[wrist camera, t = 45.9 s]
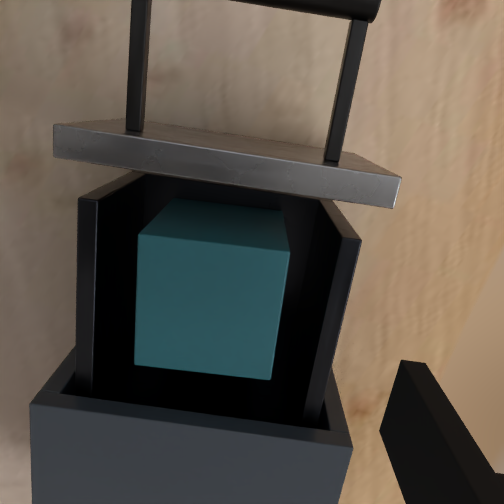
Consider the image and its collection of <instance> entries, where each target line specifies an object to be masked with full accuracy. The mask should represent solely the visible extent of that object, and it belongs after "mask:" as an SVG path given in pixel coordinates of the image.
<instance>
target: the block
mask: <svg viewBox="0 0 504 504" xmlns="http://www.w3.org/2000/svg"><path fill="white" fill-rule="evenodd" d="M289 258H290V249H289V244H288V239H287V233H286V228H285V222H284V217H283V212H282V211H279V210H271V209H262V208H254V207H246V206H237V205H229V204H221V203H212V202H204V201H196V200H187V199H179V198H173V199H172V200H171V201H170V202H169V203H168V204H167V205H166V206H165V207H164V208H163V209H162V210H161V212H160V213H159V214H158V215H157V216H156V217H155V218H154V219H153V220H152V221H151V222H150V223H149V224H148V225H147V226H146V227H145V228H144V229H143V230H142V231H141V232H140V233H139V234H138V249H137V281H136V313H135V345H134V364H135V365H140V366H149V367H158V368H166V369H175V370H184V371H192V372H201V373H210V374H219V375H227V376H236V377H245V378H254V379H262V380H270V379H271V375H272V368H273V362H274V355H275V349H276V342H277V336H278V329H279V323H280V317H281V310H282V304H283V297H284V291H285V284H286V278H287V271H288V265H289Z"/></svg>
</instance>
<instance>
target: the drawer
mask: <svg viewBox="0 0 504 504" xmlns="http://www.w3.org/2000/svg"><path fill="white" fill-rule="evenodd" d="M230 1H236V2H243V3H249V4H255V5H261V6H267V7H273V8H280V9H286V10H292V11H298V12H304V13H311V14H317V15H323V16H329V17H335V18H342V19H348V20H352V21H351V22H350V24H349V29H348V34H347V39H346V44H345V49H344V54H343V59H342V64H341V69H340V74H339V79H338V84H337V89H336V94H335V99H334V104H333V110H332V115H331V120H330V125H329V130H328V135H327V140H326V145H325V149H324V148H317V147H311V146H304V145H298V144H291V143H285V142H278V141H272V140H265V139H259V138H252V137H246V136H239V135H233V134H226V133H220V132H213V131H207V130H200V129H194V128H187V127H181V126H174V125H168V124H161V123H155V122H148V121H144V117H145V101H146V85H147V69H148V53H149V37H150V21H151V5H152V0H132V2H131V23H130V43H129V64H128V84H127V105H126V118H121V119H108V120H96V121H83V122H71V123H59V124H54V125H53V156H54V157H55V158H60V159H66V160H73V161H79V162H86V163H93V164H99V165H106V166H113V167H119V168H126V169H132V170H134V171H132V172H130V173H128V174H126V175H124V176H122V177H120V178H118V179H116V180H114V181H112V182H110V183H108V184H106V185H103V186H101V187H99V188H97V189H95V190H93V191H91V192H89V193H87V194H85V195H83V196H81V197H79V198H78V221H77V290H76V358H75V396H81V397H88V398H95V399H103V400H110V401H117V402H124V403H132V404H139V405H146V406H153V407H161V408H168V409H175V410H182V411H190V412H197V413H204V414H211V415H219V416H226V417H233V418H240V419H248V420H255V421H262V422H269V423H277V424H284V425H291V426H298V427H306V428H313V429H317V425H318V421H319V416H320V412H321V408H322V404H323V400H324V396H325V392H326V388H327V383H328V379H329V375H330V371H331V367H332V363H333V359H334V355H335V350H336V346H337V342H338V338H339V334H340V330H341V326H342V322H343V317H344V313H345V309H346V305H347V301H348V297H349V293H350V289H351V284H352V280H353V276H354V272H355V268H356V264H357V260H358V256H359V251H360V247H361V243H362V240H361V238H360V237H359V236H358V234H357V233H356V232H355V230H354V229H353V228H352V226H351V225H350V223H349V222H348V221H347V219H346V218H345V217H344V215H343V214H342V213H341V211H340V210H339V209H338V207H337V206H336V205H335V203H334V202H333V201H332V200H338V201H344V202H351V203H357V204H364V205H371V206H377V207H384V208H390V209H393V208H394V206H395V202H396V198H397V195H398V191H399V187H400V183H401V179H402V178H401V177H400V176H398V175H396V174H394V173H392V172H390V171H388V170H386V169H384V168H382V167H380V166H378V165H376V164H374V163H372V162H371V161H369V160H367V159H365V158H363V157H361V156H359V155H357V154H355V153H350V152H343V151H342V146H343V141H344V136H345V132H346V127H347V122H348V117H349V113H350V108H351V103H352V98H353V94H354V89H355V84H356V79H357V75H358V70H359V65H360V60H361V56H362V51H363V46H364V42H365V37H366V32H367V27H368V23H372V22H373V21H374V19H375V18H376V15H377V13H378V10H379V7H380V3H381V0H230ZM173 198H179V199H187V200H196V201H204V202H212V203H221V204H229V205H237V206H246V207H254V208H262V209H271V210H279V211H282V212H283V217H284V222H285V228H286V233H287V239H288V244H289V249H290V258H289V265H288V271H287V278H286V284H285V291H284V297H283V304H282V310H281V317H280V323H279V329H278V336H277V342H276V349H275V355H274V362H273V368H272V375H271V379H270V380H262V379H254V378H245V377H236V376H227V375H219V374H210V373H201V372H192V371H184V370H175V369H166V368H158V367H149V366H140V365H135V364H134V345H135V313H136V281H137V249H138V234H139V233H140V232H141V231H142V230H143V229H144V228H145V227H146V226H147V225H148V224H149V223H150V222H151V221H152V220H153V219H154V218H155V217H156V216H157V215H158V214H159V213H160V212H161V210H162V209H163V208H164V207H165V206H166V205H167V204H168V203H169V202H170V201H171V200H172V199H173Z"/></svg>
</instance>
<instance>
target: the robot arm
mask: <svg viewBox="0 0 504 504" xmlns="http://www.w3.org/2000/svg"><path fill="white" fill-rule="evenodd" d="M379 431H380V434H381V437H382V440H383V442H384V445H385V448H386V451H387V453H388V456H389V459H390V462H391V464H392V467H393V470H394V473H395V475H396V478H397V481H398V484H399V486H400V489H401V492H402V495H403V497H404V500H405V503H406V504H504V474H500V473H495V472H494V470H493V469H492V467H491V466H490V464H489V463H488V461H487V459H486V458H485V456H484V455H483V453H482V451H481V450H480V448H479V447H478V445H477V444H476V442H475V441H474V439H473V437H472V436H471V435H470V433H469V431H468V429H467V428H466V426H465V425H464V423H463V422H462V420H461V418H460V417H459V415H458V414H457V412H456V411H455V409H454V407H453V406H452V404H451V403H450V401H449V400H448V398H447V396H446V395H445V393H444V392H443V390H442V389H441V387H440V385H439V384H438V382H437V381H436V379H435V377H434V376H433V374H432V373H431V371H430V370H429V368H428V366H427V365H426V363H421V362H414V361H407V360H401V362H400V365H399V368H398V371H397V375H396V378H395V381H394V384H393V388H392V391H391V394H390V397H389V401H388V404H387V407H386V410H385V414H384V417H383V420H382V423H381V427H380V430H379Z"/></svg>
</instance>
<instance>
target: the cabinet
mask: <svg viewBox="0 0 504 504" xmlns="http://www.w3.org/2000/svg"><path fill="white" fill-rule="evenodd" d="M75 358H76V345H75V347H74V348H73V349H72V350H71V352H70V353H69V354H68V356H67V357H66V358H65V359H64V361H63V362H62V363H61V364H60V366H59V367H58V368H57V370H56V371H55V372H54V373H53V375H52V376H51V377H50V378H49V380H48V381H47V382H46V384H45V385H44V386H43V387H42V389H41V390H40V391H39V392H38V393H37V395H36V396H35V397H34V399H33V400H32V401H31V402H30V404H29V407H30V444H31V481H32V504H338V501H339V497H340V494H341V490H342V487H343V483H344V480H345V476H346V473H347V469H348V466H349V462H350V458H351V455H352V451H353V445H352V441H351V437H350V434H349V430H348V426H347V422H346V419H345V415H344V411H343V407H342V404H341V400H340V396H339V392H338V388H337V385H336V381H335V377H334V373H333V370H332V367H331V371H330V375H329V379H328V383H327V388H326V392H325V396H324V400H323V404H322V408H321V412H320V416H319V421H318V425H317V429H313V428H306V427H298V426H291V425H284V424H277V423H269V422H262V421H255V420H248V419H240V418H233V417H226V416H219V415H211V414H204V413H197V412H190V411H182V410H175V409H168V408H161V407H153V406H146V405H139V404H132V403H124V402H117V401H110V400H103V399H95V398H88V397H81V396H75Z"/></svg>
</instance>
